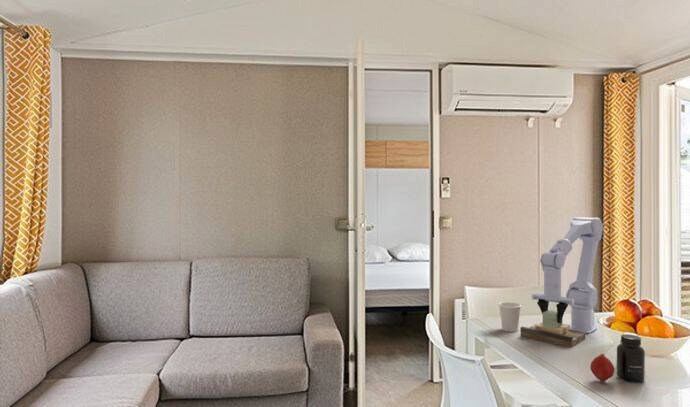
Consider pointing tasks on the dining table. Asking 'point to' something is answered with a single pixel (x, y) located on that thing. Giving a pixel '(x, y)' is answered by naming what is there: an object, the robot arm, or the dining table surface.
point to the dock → (553, 336)
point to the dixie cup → (510, 316)
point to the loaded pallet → (558, 330)
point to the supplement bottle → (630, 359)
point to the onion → (602, 368)
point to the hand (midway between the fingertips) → (552, 321)
